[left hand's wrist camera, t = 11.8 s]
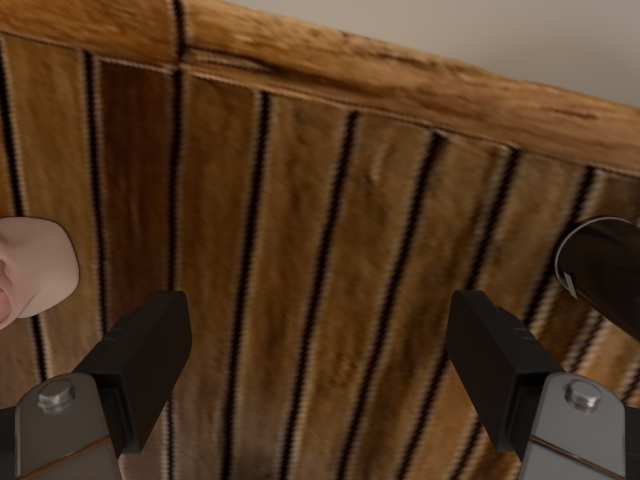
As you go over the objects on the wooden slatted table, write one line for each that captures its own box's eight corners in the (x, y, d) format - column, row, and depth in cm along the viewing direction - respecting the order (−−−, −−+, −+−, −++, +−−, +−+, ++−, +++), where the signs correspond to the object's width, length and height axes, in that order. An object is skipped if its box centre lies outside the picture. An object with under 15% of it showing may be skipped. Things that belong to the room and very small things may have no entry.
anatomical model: (18, 211, 36) (83, 308, 40) (46, 201, 40) (104, 290, 44) (-93, 254, 38) (-19, 343, 42) (-56, 240, 41) (9, 323, 45)
